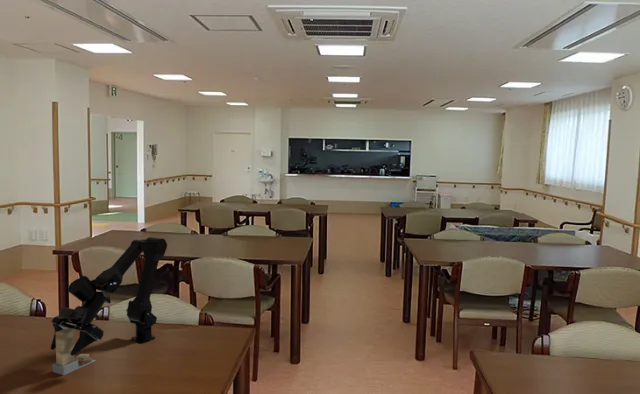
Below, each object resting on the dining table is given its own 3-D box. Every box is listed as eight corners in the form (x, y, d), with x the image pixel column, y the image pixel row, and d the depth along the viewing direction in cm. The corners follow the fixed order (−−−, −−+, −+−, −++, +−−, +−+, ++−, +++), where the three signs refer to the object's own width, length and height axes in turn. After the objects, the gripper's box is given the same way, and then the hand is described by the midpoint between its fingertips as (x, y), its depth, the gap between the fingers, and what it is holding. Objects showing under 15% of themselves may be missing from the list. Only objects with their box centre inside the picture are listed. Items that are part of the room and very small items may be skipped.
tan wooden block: (68, 366, 156) (67, 327, 155) (74, 368, 155) (73, 329, 154) (56, 371, 153) (55, 332, 151) (63, 373, 151) (61, 334, 150)
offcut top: (80, 356, 161) (80, 353, 161) (89, 357, 161) (89, 354, 160) (75, 360, 158) (75, 357, 158) (84, 361, 158) (83, 357, 158)
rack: (85, 361, 163) (85, 350, 163) (95, 364, 161) (95, 353, 161) (52, 376, 153) (52, 364, 152) (63, 379, 150) (63, 367, 150)
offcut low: (83, 359, 162) (83, 355, 162) (91, 361, 160) (91, 358, 160) (73, 363, 159) (73, 359, 159) (82, 365, 157) (82, 362, 157)
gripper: (55, 292, 159) (24, 335, 150) (95, 300, 151) (64, 347, 142) (77, 308, 167) (48, 350, 158) (115, 317, 159) (88, 362, 150)
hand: (61, 352), depth 152 cm, fingers open, 9 cm apart
